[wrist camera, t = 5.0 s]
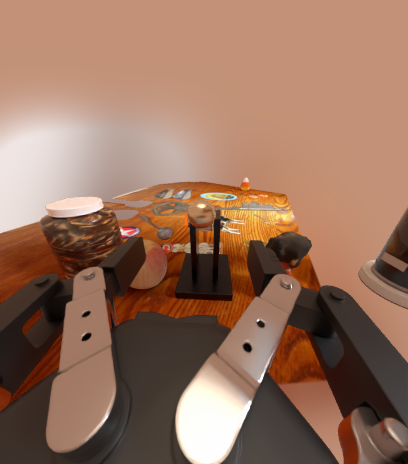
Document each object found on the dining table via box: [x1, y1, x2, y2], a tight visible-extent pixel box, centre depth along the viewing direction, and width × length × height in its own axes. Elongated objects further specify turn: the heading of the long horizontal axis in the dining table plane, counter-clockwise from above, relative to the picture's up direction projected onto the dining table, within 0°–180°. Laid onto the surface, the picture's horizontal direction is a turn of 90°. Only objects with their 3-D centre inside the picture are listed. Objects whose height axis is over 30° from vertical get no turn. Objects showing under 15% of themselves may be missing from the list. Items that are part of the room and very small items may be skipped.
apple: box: [130, 240, 168, 289], centre depth 31 cm, size 9×9×8 cm
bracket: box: [175, 210, 233, 301], centre depth 31 cm, size 12×10×14 cm
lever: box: [188, 200, 216, 231], centre depth 23 cm, size 13×3×3 cm, turn 176°
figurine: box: [266, 232, 312, 277], centre depth 27 cm, size 6×6×12 cm
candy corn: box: [241, 178, 250, 191], centre depth 103 cm, size 6×3×8 cm, turn 76°
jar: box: [40, 197, 123, 279], centre depth 33 cm, size 12×12×15 cm
